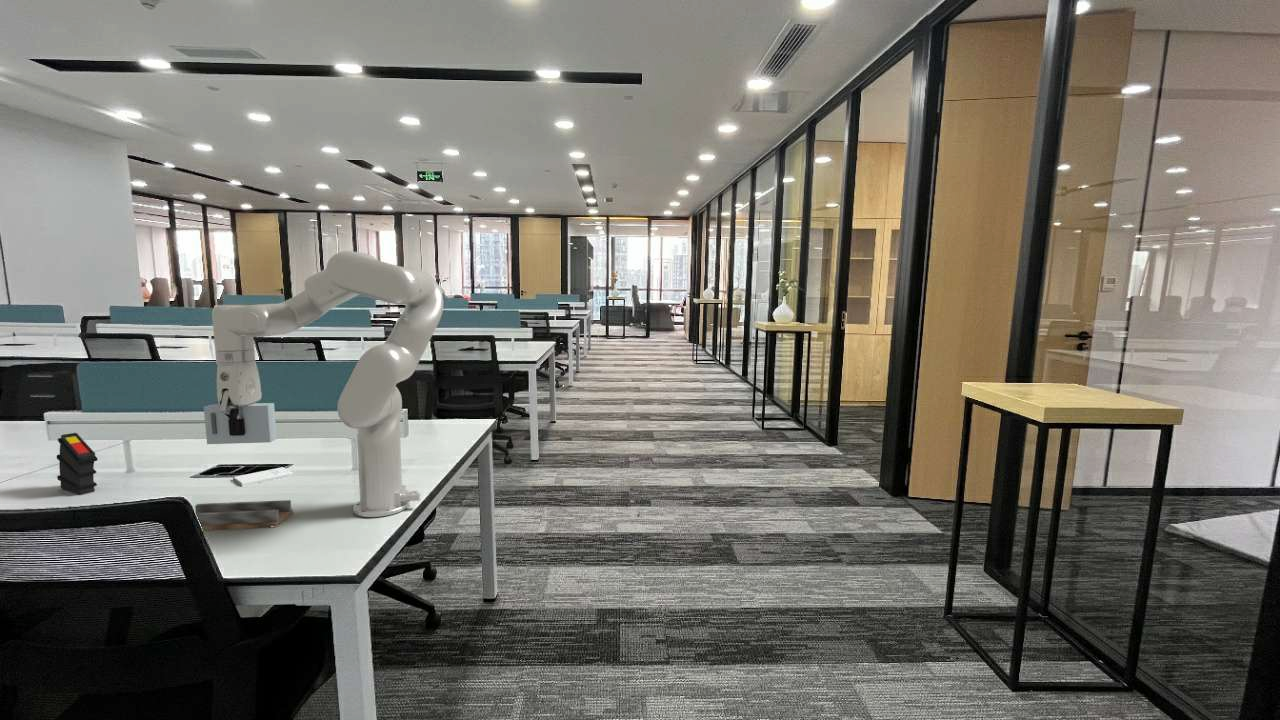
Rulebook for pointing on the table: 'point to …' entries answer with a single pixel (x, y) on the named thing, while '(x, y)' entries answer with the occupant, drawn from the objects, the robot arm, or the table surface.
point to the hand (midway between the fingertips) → (242, 432)
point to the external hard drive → (262, 476)
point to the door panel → (255, 420)
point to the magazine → (76, 464)
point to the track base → (242, 514)
